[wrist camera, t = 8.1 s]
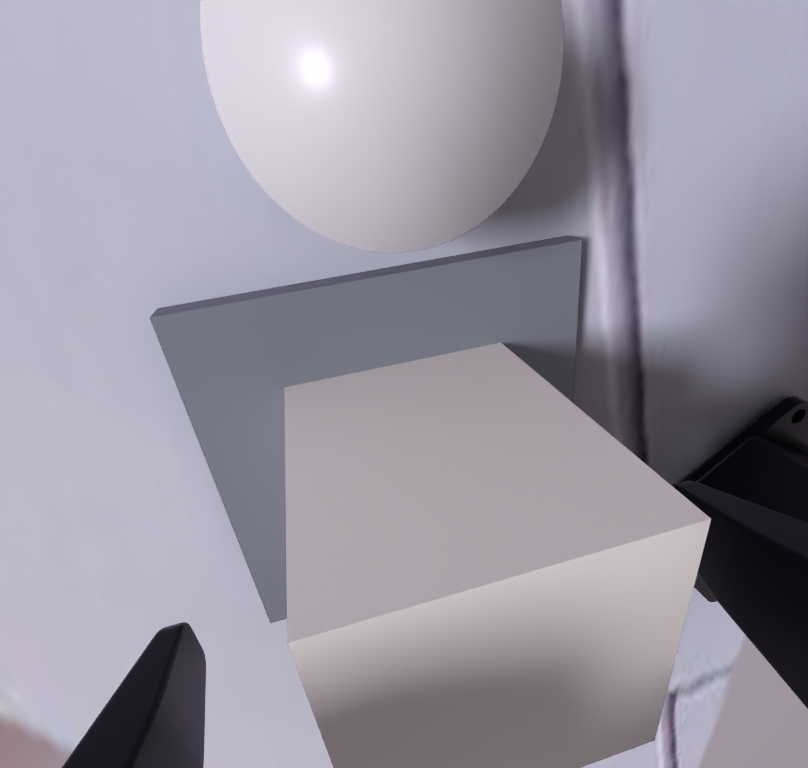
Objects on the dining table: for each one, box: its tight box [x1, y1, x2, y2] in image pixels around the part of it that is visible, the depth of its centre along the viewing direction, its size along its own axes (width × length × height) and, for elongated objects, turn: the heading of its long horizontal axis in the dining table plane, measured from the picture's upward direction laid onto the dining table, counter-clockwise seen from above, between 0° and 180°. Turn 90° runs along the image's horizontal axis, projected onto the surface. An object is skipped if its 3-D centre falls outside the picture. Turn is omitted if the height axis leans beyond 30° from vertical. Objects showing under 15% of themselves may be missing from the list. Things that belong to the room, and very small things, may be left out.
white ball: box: [200, 0, 564, 253], centre depth 7 cm, size 4×4×4 cm
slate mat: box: [150, 236, 582, 623], centre depth 12 cm, size 9×9×1 cm
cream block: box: [284, 343, 711, 768], centre depth 9 cm, size 5×5×6 cm
